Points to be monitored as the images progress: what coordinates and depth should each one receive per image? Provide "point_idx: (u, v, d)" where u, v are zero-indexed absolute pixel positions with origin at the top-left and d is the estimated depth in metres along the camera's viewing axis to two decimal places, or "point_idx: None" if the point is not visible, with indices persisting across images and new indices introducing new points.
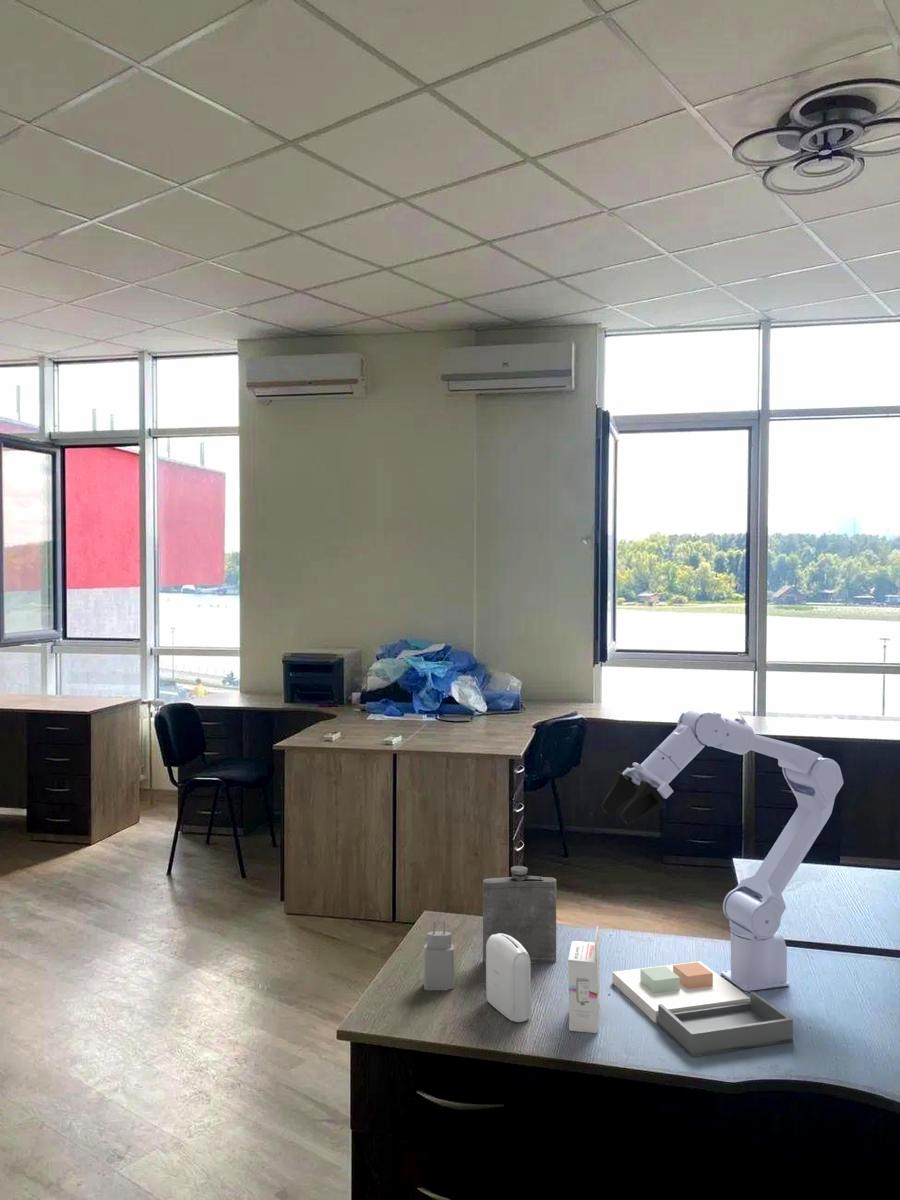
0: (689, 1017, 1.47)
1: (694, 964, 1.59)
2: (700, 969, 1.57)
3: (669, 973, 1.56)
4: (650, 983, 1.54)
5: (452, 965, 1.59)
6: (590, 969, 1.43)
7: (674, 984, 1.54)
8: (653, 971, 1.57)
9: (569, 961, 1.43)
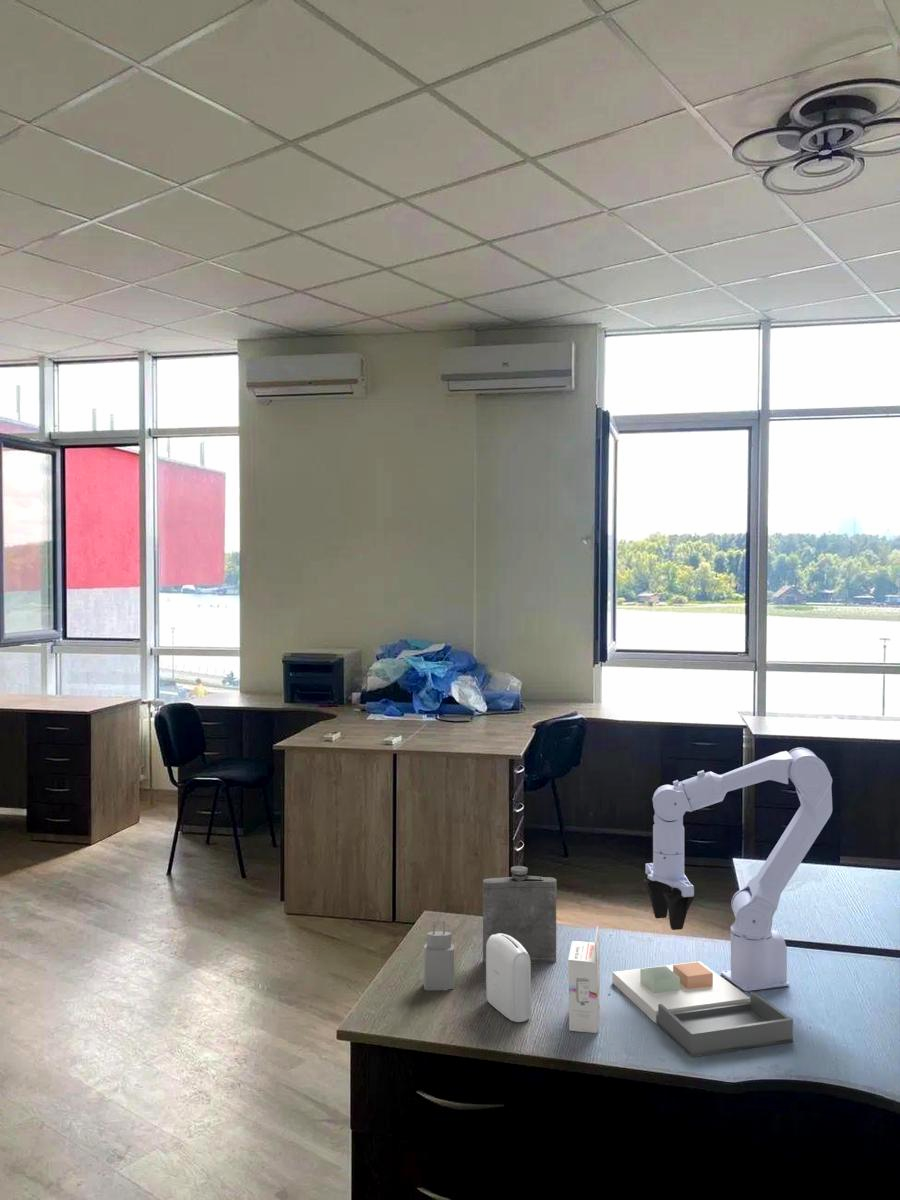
0: (689, 1017, 1.47)
1: (694, 964, 1.59)
2: (700, 969, 1.57)
3: (669, 973, 1.56)
4: (650, 983, 1.54)
5: (452, 965, 1.59)
6: (590, 969, 1.43)
7: (674, 984, 1.54)
8: (653, 971, 1.57)
9: (569, 961, 1.43)
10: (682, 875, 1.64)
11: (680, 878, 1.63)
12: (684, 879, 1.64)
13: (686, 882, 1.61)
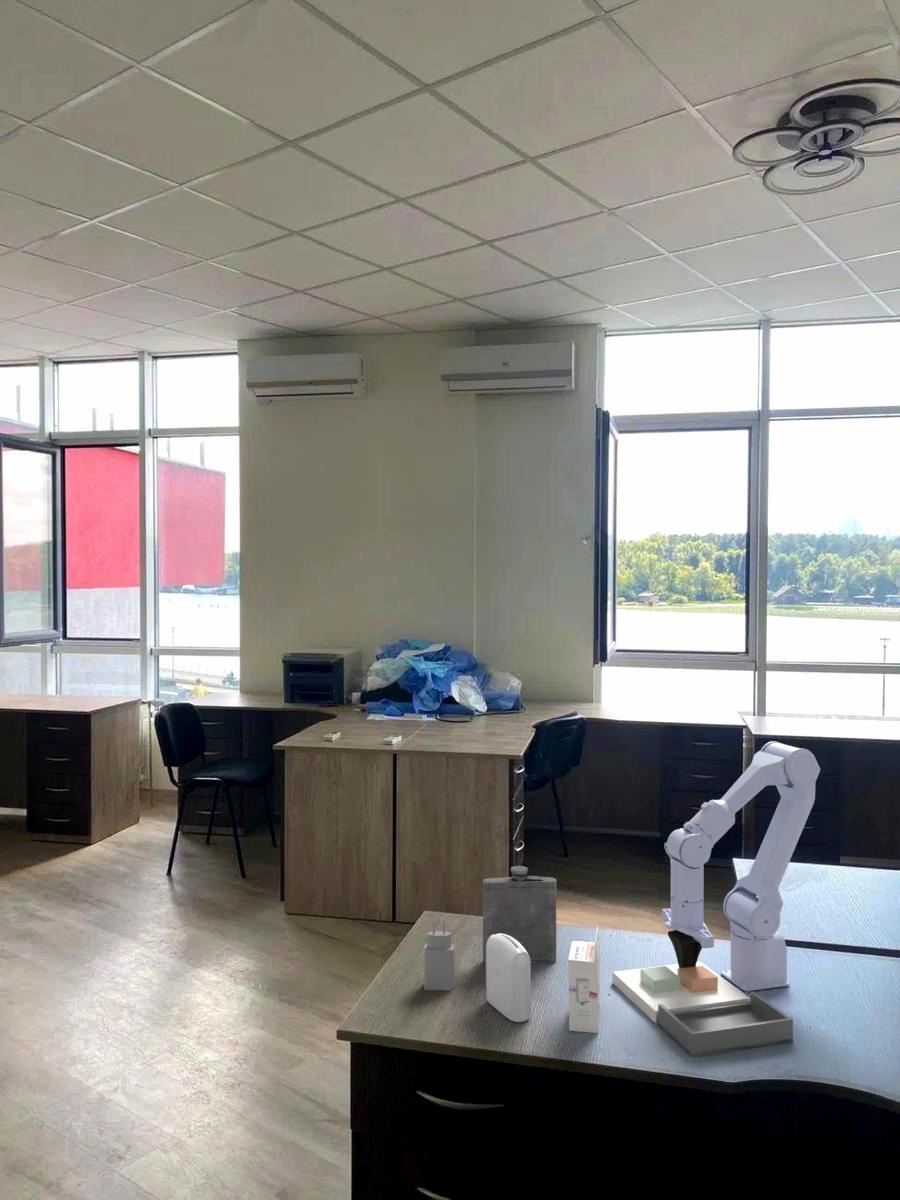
0: (689, 1017, 1.47)
1: (699, 968, 1.58)
2: (705, 973, 1.56)
3: (669, 973, 1.56)
4: (650, 983, 1.54)
5: (452, 965, 1.59)
6: (590, 969, 1.43)
7: (674, 984, 1.54)
8: (653, 971, 1.57)
9: (569, 961, 1.43)
10: (701, 924, 1.57)
11: (699, 927, 1.57)
12: (703, 928, 1.57)
13: (705, 932, 1.55)
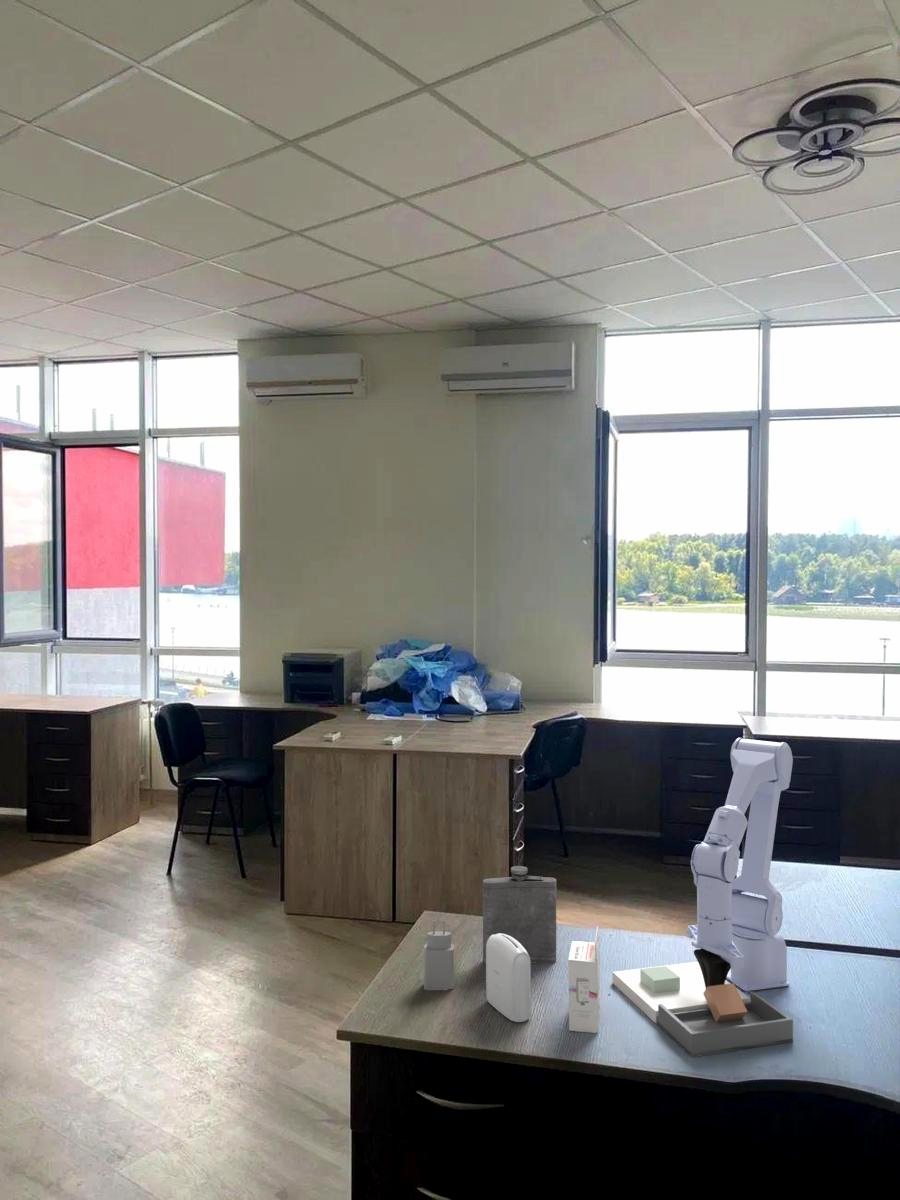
0: (689, 1017, 1.47)
1: (730, 988, 1.48)
2: (735, 1000, 1.47)
3: (669, 973, 1.56)
4: (650, 983, 1.54)
5: (452, 965, 1.59)
6: (590, 969, 1.43)
7: (674, 984, 1.54)
8: (653, 971, 1.57)
9: (569, 961, 1.43)
10: (730, 942, 1.49)
11: (728, 946, 1.48)
12: (732, 947, 1.49)
13: (735, 951, 1.46)
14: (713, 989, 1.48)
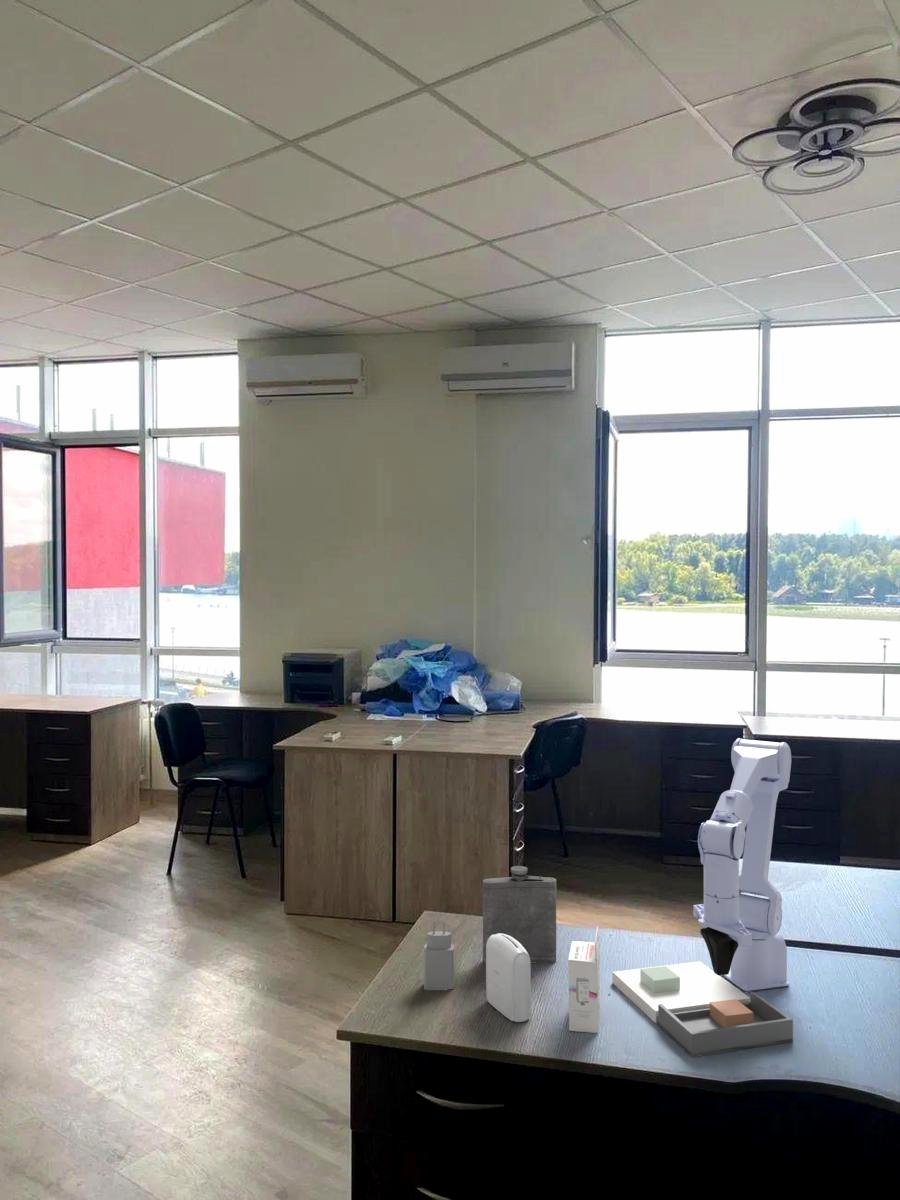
0: (689, 1017, 1.47)
1: (732, 1001, 1.48)
2: (739, 1007, 1.46)
3: (669, 973, 1.56)
4: (650, 983, 1.54)
5: (452, 965, 1.59)
6: (590, 969, 1.43)
7: (674, 984, 1.54)
8: (653, 971, 1.57)
9: (569, 961, 1.43)
10: (737, 921, 1.47)
11: (735, 924, 1.46)
12: (739, 925, 1.47)
13: (742, 929, 1.45)
14: (715, 1003, 1.47)
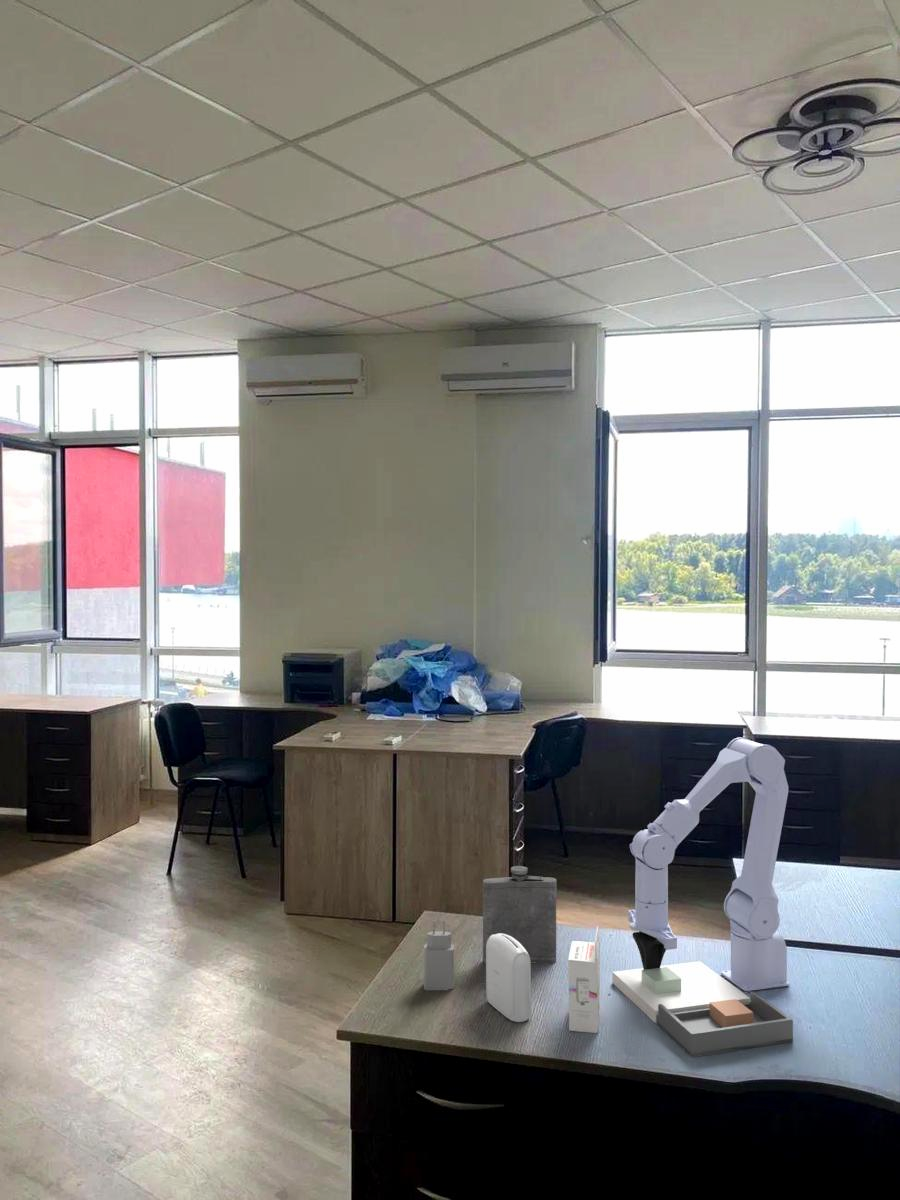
0: (689, 1017, 1.47)
1: (732, 1001, 1.48)
2: (739, 1007, 1.46)
3: (670, 974, 1.55)
4: (651, 985, 1.54)
5: (452, 965, 1.59)
6: (590, 969, 1.43)
7: (675, 985, 1.53)
8: (654, 972, 1.56)
9: (569, 961, 1.43)
10: (665, 925, 1.57)
11: (663, 928, 1.56)
12: (667, 929, 1.57)
13: (669, 933, 1.54)
14: (715, 1003, 1.47)
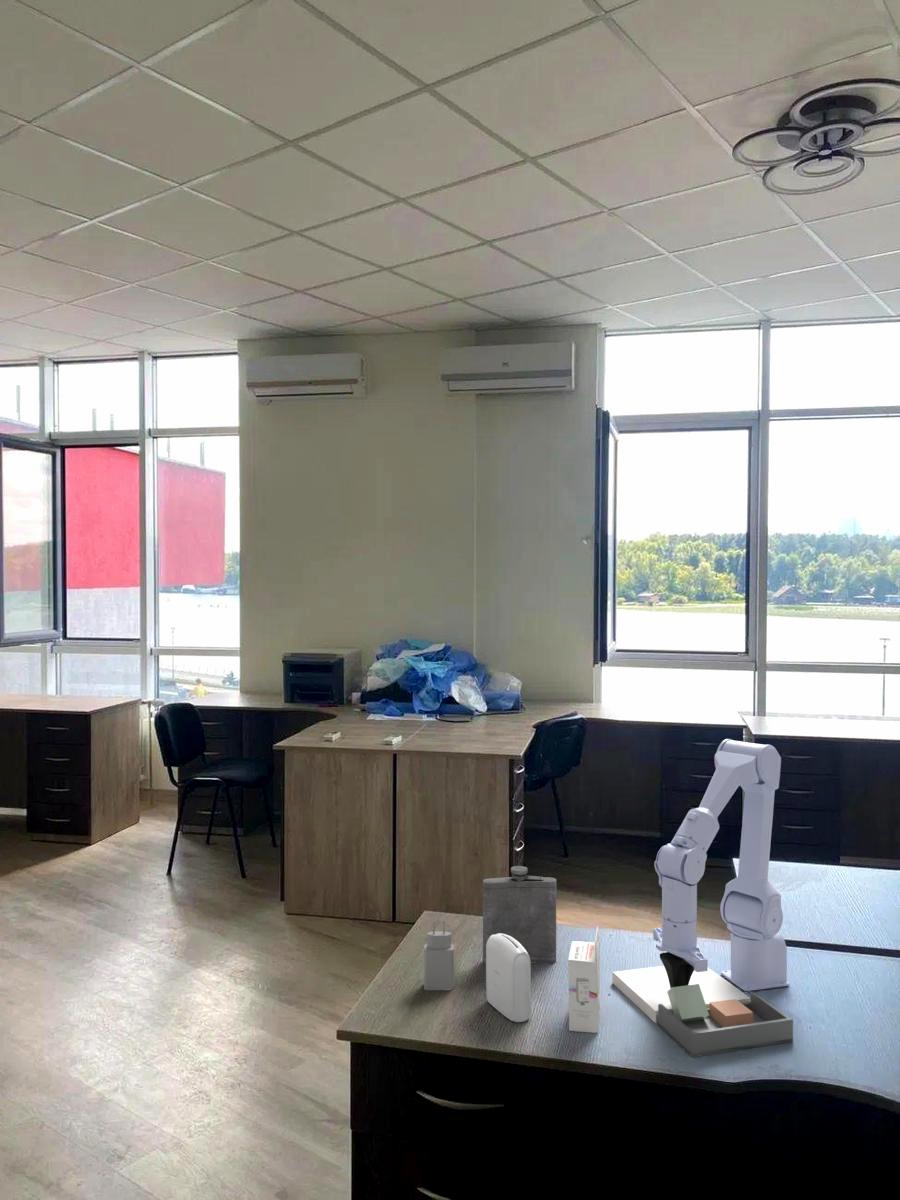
0: None
1: (732, 1001, 1.48)
2: (739, 1007, 1.46)
3: (700, 1003, 1.46)
4: (676, 1012, 1.45)
5: (452, 965, 1.59)
6: (590, 969, 1.43)
7: (700, 1018, 1.45)
8: (684, 994, 1.46)
9: (569, 961, 1.43)
10: (694, 945, 1.47)
11: (692, 949, 1.47)
12: (696, 950, 1.47)
13: (699, 954, 1.45)
14: (715, 1003, 1.47)
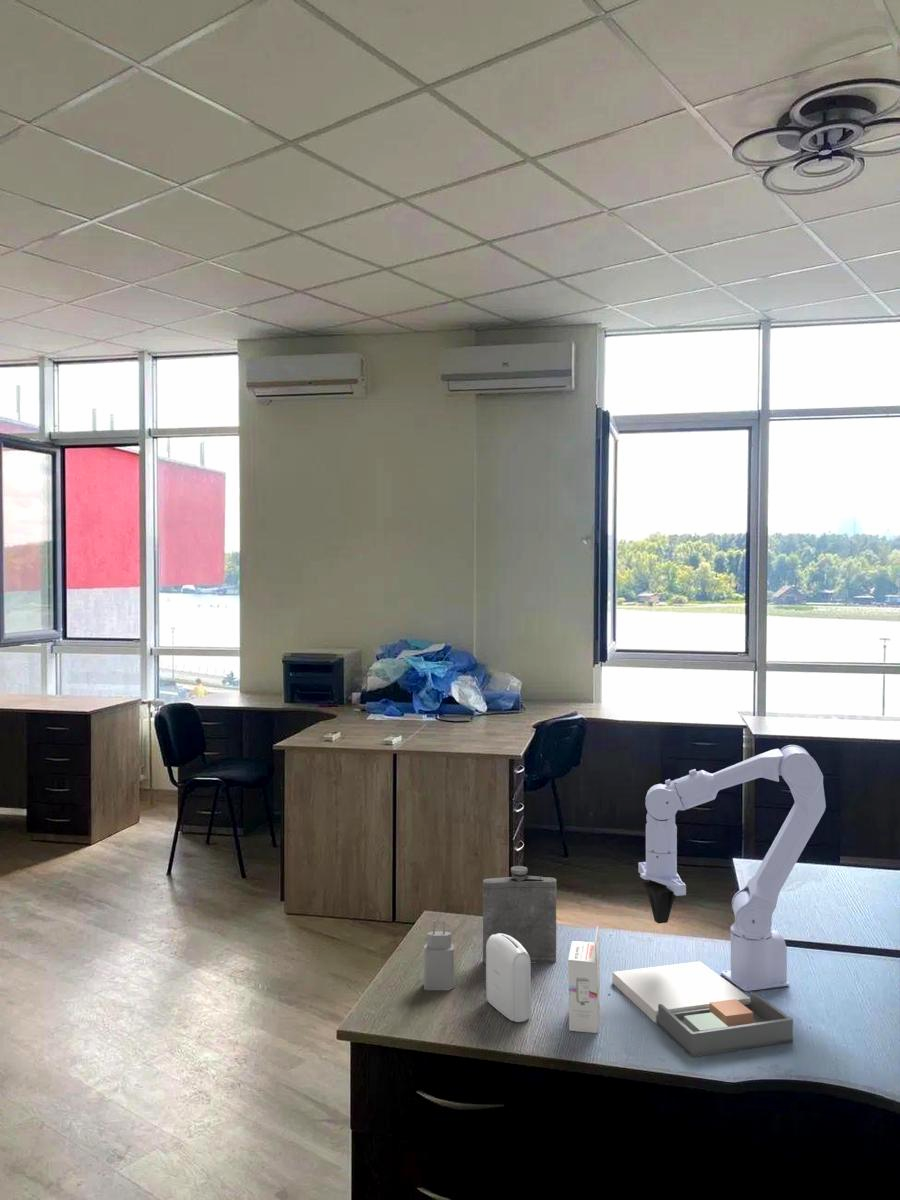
0: None
1: (732, 1001, 1.48)
2: (739, 1007, 1.46)
3: None
4: (688, 1026, 1.42)
5: (452, 965, 1.59)
6: (590, 969, 1.43)
7: None
8: None
9: (569, 961, 1.43)
10: (674, 874, 1.64)
11: (672, 877, 1.64)
12: (676, 878, 1.64)
13: (678, 881, 1.62)
14: (715, 1003, 1.47)
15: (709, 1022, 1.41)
